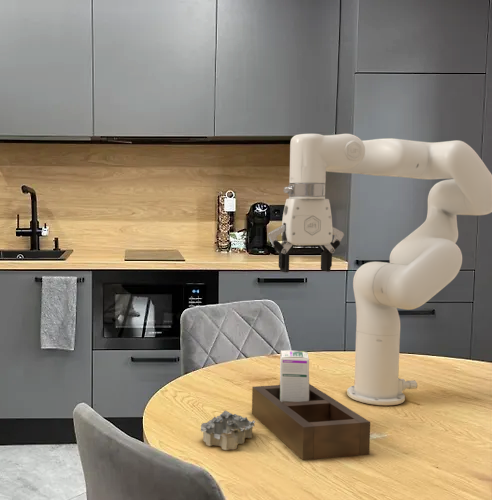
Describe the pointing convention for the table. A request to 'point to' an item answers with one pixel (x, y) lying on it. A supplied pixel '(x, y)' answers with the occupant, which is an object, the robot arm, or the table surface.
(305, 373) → the syrup box
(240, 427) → the egg carton
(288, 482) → the table surface
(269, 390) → the holder
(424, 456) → the table surface
